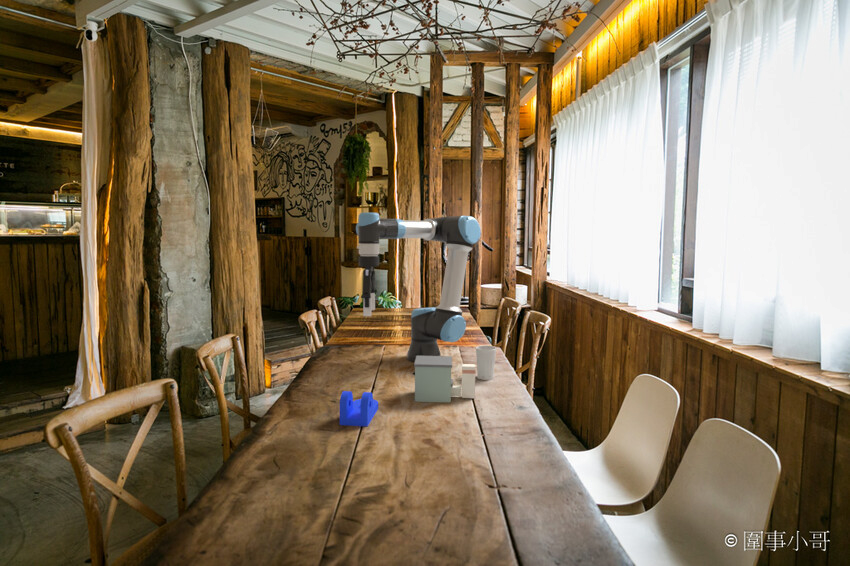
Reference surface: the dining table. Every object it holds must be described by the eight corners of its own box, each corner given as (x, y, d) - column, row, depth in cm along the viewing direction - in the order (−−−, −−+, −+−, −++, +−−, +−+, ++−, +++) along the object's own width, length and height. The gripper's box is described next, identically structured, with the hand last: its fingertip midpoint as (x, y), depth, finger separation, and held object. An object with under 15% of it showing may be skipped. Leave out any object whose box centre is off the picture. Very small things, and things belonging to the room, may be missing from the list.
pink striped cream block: (474, 395, 166) (475, 364, 165) (474, 398, 163) (475, 366, 162) (434, 394, 167) (435, 363, 165) (434, 397, 163) (435, 365, 162)
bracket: (367, 427, 139) (367, 396, 138) (339, 425, 140) (339, 395, 139) (380, 405, 156) (380, 378, 156) (355, 404, 157) (355, 377, 156)
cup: (495, 375, 191) (495, 345, 190) (496, 381, 184) (497, 350, 182) (475, 374, 192) (475, 345, 191) (475, 380, 184) (475, 349, 183)
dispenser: (452, 391, 170) (453, 356, 169) (452, 402, 159) (453, 365, 158) (416, 390, 171) (416, 355, 170) (413, 401, 160) (414, 364, 158)
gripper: (362, 253, 186) (363, 307, 188) (353, 257, 161) (354, 319, 164) (382, 253, 186) (382, 307, 189) (376, 257, 161) (376, 319, 164)
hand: (369, 313), depth 176 cm, fingers open, 13 cm apart
